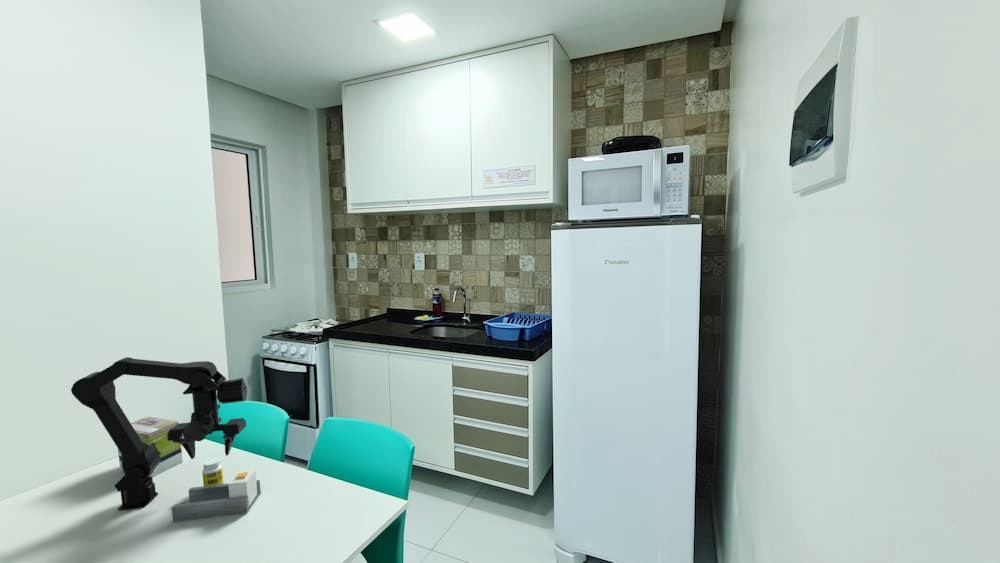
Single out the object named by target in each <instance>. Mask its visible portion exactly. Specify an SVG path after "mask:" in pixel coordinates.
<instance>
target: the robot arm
mask: <svg viewBox="0 0 1000 563" xmlns="http://www.w3.org/2000/svg"><path fill="white" fill-rule="evenodd" d="M122 376H137V377H146V378H148V377H149V378H159V379H170V380H175V381H179V382H180V383H182V384H185V385H188V386H187V388H186V389H185V390H184V391H183V392H182V395H190V394H192V396H191V397H192V404H193V405H192V409H193V412H191V414H190V415H191V416H190V421H189V422H182V423H181V422H180V423H179V422H178V423H179V424H177V425H176V426H174V427H173V428H172V429H170V430H169V431H168V433H167V440H168V441H172V440H173V442H174V443H179V444H181V447H183V449H184V450H185V451H186V453H187V454H188V456H189V457H190V459H191V460H194V459H195V458H196V442H202V441H203V440H205V439H206V436H208V435H212V434H213V433H215V432H222V434H224V435H223V436H222V439H223V440H224V453H225V456H229V454H230V452H231V449H232V447H233V443H234V441H235V438H236V436H237V435H238V434H240V433H242V431H243V430H244V429H245V428H246V427H247V421H246V419H245V418H244V417H239V418H230V420H228V421H227V422H226V423H221V422H222V418H221V417H220V416H219V409H221V406H220V405H221V404H223V405H224V404H232V403H241V402H246V400H247V397H248V386H247V385H246V381H245V379H244V378H243V377H241V378H235V379H228V380H227V378H226V376H224V375H223V374H222V373H221V372H220V371H218V369H217V366H216V364H215V363H214V362H212V361H208V360H207V361H205V360H204V361H191V362H190V361H189V362H182V363H178V362H167V361H159V360H151V359H149V360H148V359H140V358H133V357H129V356H128V357H123V358H121V359H119V360H117V361H115V362H113V363H112V364H111V365H110V366H108V367H106V368H104V369H103V370H101V371H95V372H92V373H89V374H87V375H86V376H84V377H82V378H80V379H77V380H76V381H75V382H74V383H73V385H72V386H71V388H70V390H71V391H70V392H71V395H73V397H74V398H75V399H77V401H78V402H79V403H81V405H83V406H85V407H88V408H89V409H91V410H93V412H94V413H95V415H96V416H97V418H98V419H99V422H100V423H101V424H102V425H103V427H104V429H105V431H106V432H107V434H108V435H109V437H110V438H111V440H112V441H113V442H114V445H115V446H116V447H117V450H118V449H119V451H120V452H121V455H122V468H123V471H122V472H123V473H124V476H122V477H121V478H120V480H118V481H117V483H116V484H115V485H114V487H115V488H116V491H117V492H118V493H119V492H120V497H121V505H120V506H119V507H118V508H117V511H126V510H127V511H128V510H135V509H143V508H145V507H146V506H147V505H148V504H149V503H150V502H151V501H153V500H154V499H155V498H156V497H157V496H158V495H159V492H157V491H156V483H155V482H154V481H153V479H154V478H153V477H149V476H150V474H151V473H153V471H154V469H155V468H156V467H157V466H158V465H159V463H160V460H161V457H160V454H161V452H159V451H158V449H157V447H156V445H155V443H152V444H150V445H147V444H145V443H143V442H142V441H141V439H140V438H139V436H138V435H137V433H136V431H135V430H134V428H133V427H132V425H131V423H132V422H130V420H129V418H128V417H127V415H126V414H125V411H123V409H122V407H121V406H120V404H119V402H118V401H117V399H116V396H117V395H116V385H115V383H114V382H115V380H117V379H119V378H121V377H122ZM218 403H221V404H218Z"/></svg>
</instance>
